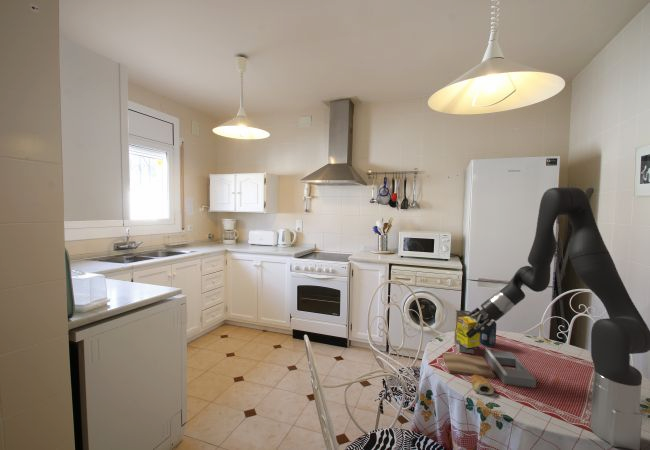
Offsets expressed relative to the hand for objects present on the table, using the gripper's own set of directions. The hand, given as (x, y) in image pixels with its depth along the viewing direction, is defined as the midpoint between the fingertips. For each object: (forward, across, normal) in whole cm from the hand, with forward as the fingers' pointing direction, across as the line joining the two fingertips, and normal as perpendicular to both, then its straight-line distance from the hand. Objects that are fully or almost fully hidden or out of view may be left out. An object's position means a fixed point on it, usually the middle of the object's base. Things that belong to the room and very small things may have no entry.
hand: (464, 331), depth 115 cm
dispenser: (-2, 0, +21) cm, 21 cm away
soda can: (-1, -23, +22) cm, 32 cm away
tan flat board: (+9, 0, +11) cm, 14 cm away
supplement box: (+3, 0, +5) cm, 6 cm away
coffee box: (+7, -16, +13) cm, 22 cm away
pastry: (+9, +15, +12) cm, 21 cm away
